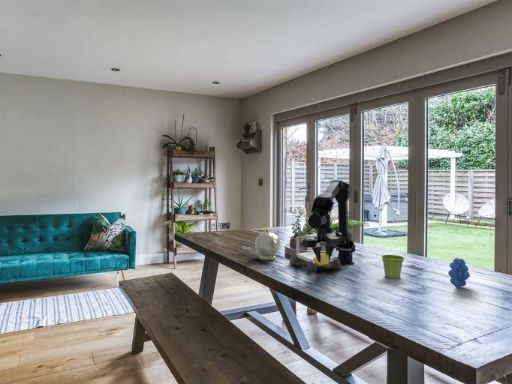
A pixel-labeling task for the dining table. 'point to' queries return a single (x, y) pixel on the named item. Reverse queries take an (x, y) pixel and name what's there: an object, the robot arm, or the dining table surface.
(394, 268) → the plant pot
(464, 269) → the grapes
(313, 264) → the trolley
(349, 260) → the robot arm
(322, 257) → the yellow step block
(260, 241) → the teapot
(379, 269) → the dining table surface
